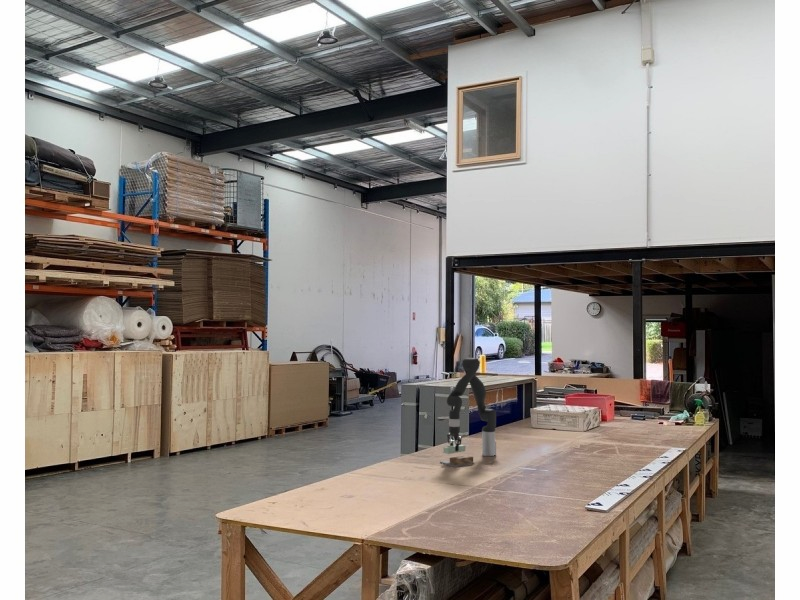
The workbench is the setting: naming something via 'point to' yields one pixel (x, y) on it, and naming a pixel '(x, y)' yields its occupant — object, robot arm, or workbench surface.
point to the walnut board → (461, 460)
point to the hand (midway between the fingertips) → (454, 450)
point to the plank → (453, 449)
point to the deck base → (454, 465)
